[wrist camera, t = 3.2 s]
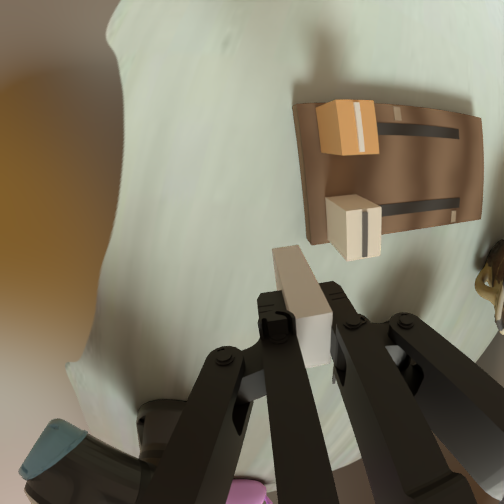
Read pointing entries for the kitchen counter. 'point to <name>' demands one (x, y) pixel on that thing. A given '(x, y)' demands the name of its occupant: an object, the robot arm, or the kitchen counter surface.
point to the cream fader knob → (354, 226)
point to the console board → (397, 169)
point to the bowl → (494, 282)
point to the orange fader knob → (348, 127)
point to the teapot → (247, 492)
